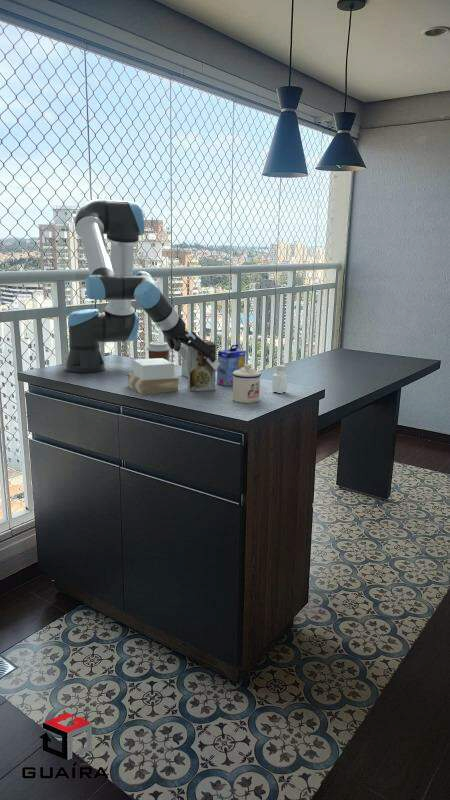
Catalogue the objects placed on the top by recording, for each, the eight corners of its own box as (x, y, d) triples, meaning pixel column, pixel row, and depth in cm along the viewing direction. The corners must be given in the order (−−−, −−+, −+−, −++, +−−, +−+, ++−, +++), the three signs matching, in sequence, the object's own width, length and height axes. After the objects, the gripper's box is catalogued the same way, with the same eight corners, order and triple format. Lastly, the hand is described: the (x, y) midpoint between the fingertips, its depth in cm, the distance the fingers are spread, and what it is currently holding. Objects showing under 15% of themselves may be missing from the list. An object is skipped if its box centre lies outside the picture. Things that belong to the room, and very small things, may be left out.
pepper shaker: (280, 394, 189) (282, 367, 187) (271, 392, 192) (272, 365, 190) (287, 392, 192) (288, 365, 190) (277, 390, 195) (279, 363, 193)
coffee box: (212, 386, 198) (213, 341, 194) (215, 390, 192) (216, 344, 188) (187, 386, 197) (187, 341, 192) (189, 391, 190) (189, 344, 186)
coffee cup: (171, 371, 221) (171, 341, 218) (168, 376, 212) (168, 345, 209) (148, 370, 221) (148, 340, 218) (145, 375, 212) (144, 344, 209)
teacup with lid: (251, 405, 175) (252, 368, 172) (226, 400, 179) (227, 365, 176) (268, 397, 185) (270, 363, 182) (244, 393, 189) (245, 359, 186)
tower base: (128, 387, 195) (128, 373, 194) (162, 384, 202) (162, 370, 200) (142, 395, 184) (142, 381, 183) (178, 392, 191) (178, 377, 190)
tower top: (132, 373, 194) (132, 359, 192) (162, 371, 198) (162, 358, 197) (142, 380, 184) (142, 365, 183) (173, 378, 189) (174, 363, 188)
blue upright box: (227, 386, 198) (228, 346, 195) (215, 384, 202) (216, 344, 198) (245, 382, 206) (246, 343, 202) (234, 380, 209) (235, 341, 206)
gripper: (139, 327, 185) (173, 366, 199) (189, 336, 168) (223, 378, 182) (151, 310, 187) (184, 350, 201) (203, 317, 170) (234, 360, 185)
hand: (203, 363), depth 192 cm, fingers open, 13 cm apart
